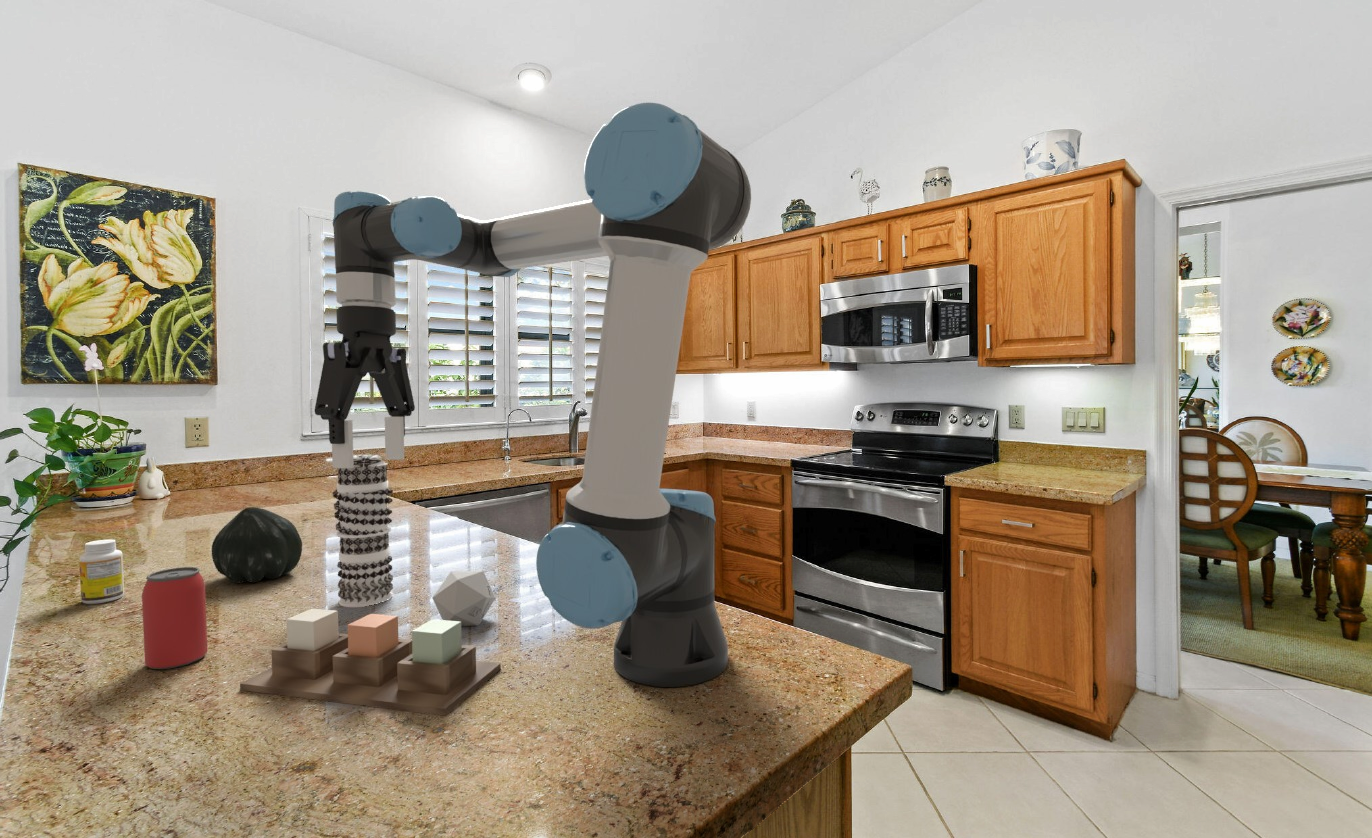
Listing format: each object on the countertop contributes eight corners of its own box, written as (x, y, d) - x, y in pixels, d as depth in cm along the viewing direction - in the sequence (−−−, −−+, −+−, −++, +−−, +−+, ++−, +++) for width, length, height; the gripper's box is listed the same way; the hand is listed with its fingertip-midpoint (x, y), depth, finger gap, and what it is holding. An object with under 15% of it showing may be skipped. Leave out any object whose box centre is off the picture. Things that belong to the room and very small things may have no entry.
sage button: (461, 653, 78) (461, 621, 78) (442, 666, 74) (441, 633, 74) (433, 650, 79) (432, 619, 79) (412, 663, 75) (411, 630, 75)
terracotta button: (398, 646, 80) (397, 615, 80) (376, 659, 77) (375, 627, 76) (371, 644, 81) (370, 613, 81) (348, 656, 77) (347, 624, 77)
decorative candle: (366, 610, 104) (361, 459, 103) (323, 605, 107) (318, 457, 106) (407, 593, 112) (403, 454, 111) (366, 588, 115) (362, 452, 114)
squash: (296, 534, 135) (241, 489, 126) (330, 547, 127) (273, 499, 118) (240, 590, 127) (177, 546, 119) (272, 608, 119) (207, 561, 110)
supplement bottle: (90, 597, 111) (87, 539, 111) (130, 593, 114) (127, 536, 113) (74, 607, 106) (71, 547, 106) (116, 602, 109) (113, 543, 108)
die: (459, 641, 93) (498, 583, 95) (412, 610, 94) (452, 553, 96) (476, 640, 100) (512, 587, 103) (433, 611, 102) (469, 559, 104)
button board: (500, 669, 82) (500, 638, 82) (445, 715, 70) (444, 680, 70) (318, 650, 88) (317, 621, 88) (240, 689, 76) (238, 657, 76)
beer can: (138, 675, 80) (133, 582, 80) (153, 656, 86) (149, 569, 86) (202, 664, 83) (198, 575, 83) (212, 647, 89) (209, 563, 89)
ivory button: (338, 640, 82) (337, 610, 82) (314, 653, 79) (313, 621, 78) (313, 638, 83) (312, 608, 83) (287, 650, 79) (286, 619, 79)
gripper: (396, 316, 101) (399, 455, 102) (277, 296, 80) (282, 472, 81) (437, 315, 100) (440, 456, 101) (327, 294, 78) (332, 474, 79)
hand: (370, 463), depth 91 cm, fingers open, 10 cm apart
